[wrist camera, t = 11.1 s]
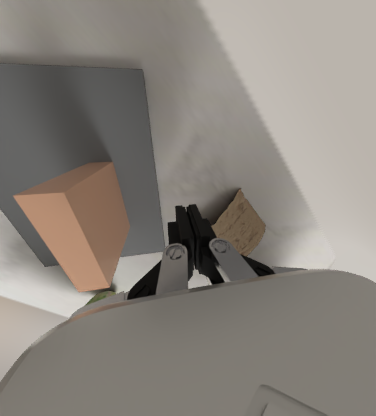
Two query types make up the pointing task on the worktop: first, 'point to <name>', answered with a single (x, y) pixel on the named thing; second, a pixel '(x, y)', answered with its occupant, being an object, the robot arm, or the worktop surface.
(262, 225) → the cork arch piece
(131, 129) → the mat
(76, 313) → the robot arm
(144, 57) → the worktop surface
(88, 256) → the block
